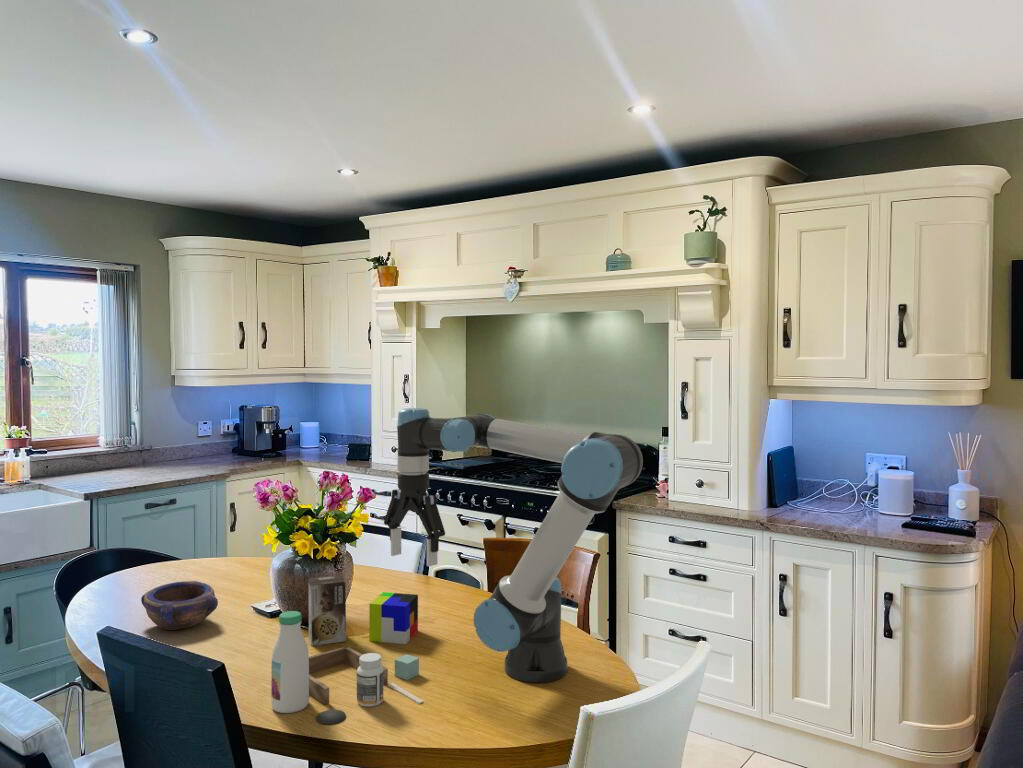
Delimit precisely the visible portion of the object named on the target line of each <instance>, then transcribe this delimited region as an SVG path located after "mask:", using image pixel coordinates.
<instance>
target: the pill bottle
mask: <svg viewBox="0 0 1023 768" xmlns="http://www.w3.org/2000/svg"><path fill="white" fill-rule="evenodd" d="M381 663H382V655H381V654H379V653H374V652H370V653H364V654H362V656H360V658H359V664H360V666H359V667H358V669H356V702H357V704H358V705H359V706H361V707H365V708H370V707H371V708H372V707H375V706H376V707H377V706H378V705H380V704H382V702H383V701H384V685H383V683H384V682H383V675H384V670H383V667H382V666H383V665H382V666H381Z"/></svg>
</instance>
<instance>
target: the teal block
mask: <svg viewBox="0 0 1023 768" xmlns="http://www.w3.org/2000/svg"><path fill="white" fill-rule="evenodd" d="M419 674H420V658H419V657H417V656H413V655H410V654H407V653H406V654H403V655H402V656H399V657H398V658H395V659H394V677H397V678H400V679H403V680H406V681H409V680H411V679H412V678H415V677H416V676H419Z"/></svg>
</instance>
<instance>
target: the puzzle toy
mask: <svg viewBox="0 0 1023 768" xmlns="http://www.w3.org/2000/svg"><path fill="white" fill-rule="evenodd" d="M368 609H369V613H368V614H369V618H368V620H369V622H368V624H369V633H368V635H369V636H368V637H369V639H368V640H369V641H370V642H376V641H377V642H378V643H388V644H389V643H390V644H399V645H406V644H407V643H408V642H409V641H410V640H411V639H412V638H413V637H414V635H415V634H416V633H417V632H418V631H419V594H411V593H401V592H400V593H399V592H389V591H388V592H387V591H384V592H382V593H380V594H379V595H378V596H377V597H376V598H375V599H373V600H372V601H371V602H370V603H369V607H368Z"/></svg>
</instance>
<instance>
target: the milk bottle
mask: <svg viewBox="0 0 1023 768" xmlns="http://www.w3.org/2000/svg"><path fill="white" fill-rule="evenodd" d="M278 623H279V624H278V625H279V627H280V628H279V633H278V636H277V637H276V640H275V642H274V644H273V647H272V653H271V670H270V671H271V677H270V678H271V681H270V682H271V685H270V686H271V688H270V689H271V692H270V693H271V695H270V697H271V700H270V701H271V707H272V710H273V711H274V712H276V713H280V714H292V713H293V714H294V713H296V712H300V711H302V710H304V709H306V707H307V706H308V705H309V703H310V694H309V675H310V673H309V657H310V656H309V647H308V643H307V641H306V639H305V637H304V635H303V634H304V633H303V632H302V628H301V624H302V613H301V612H300V611H297V610H288V611H284V612H281V613H280V614H279V617H278Z"/></svg>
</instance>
